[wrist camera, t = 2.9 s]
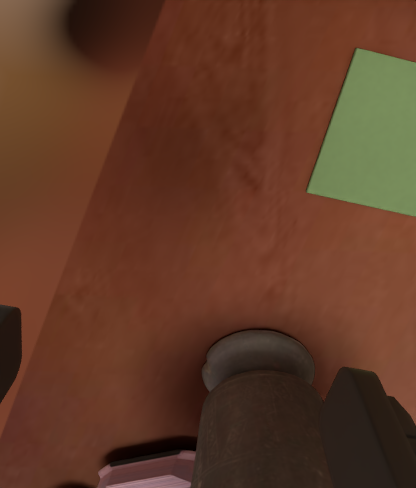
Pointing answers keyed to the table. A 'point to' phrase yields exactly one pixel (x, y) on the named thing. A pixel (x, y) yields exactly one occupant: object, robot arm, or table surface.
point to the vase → (260, 416)
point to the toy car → (150, 471)
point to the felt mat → (371, 137)
